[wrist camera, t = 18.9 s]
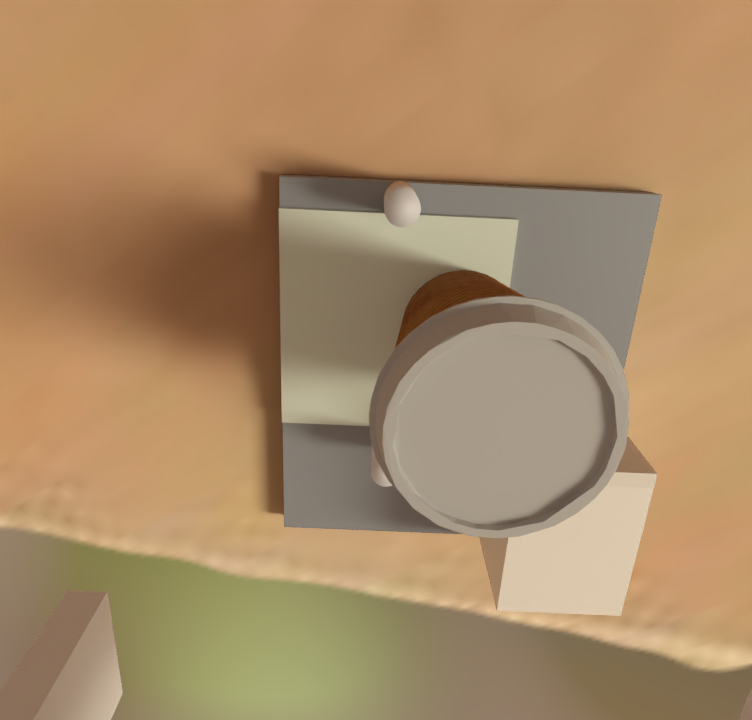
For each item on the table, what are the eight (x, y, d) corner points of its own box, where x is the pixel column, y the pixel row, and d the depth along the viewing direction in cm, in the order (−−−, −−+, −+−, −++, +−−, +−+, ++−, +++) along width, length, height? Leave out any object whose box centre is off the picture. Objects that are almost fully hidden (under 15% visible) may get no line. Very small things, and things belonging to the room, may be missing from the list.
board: (282, 173, 30) (264, 183, 26) (651, 191, 31) (702, 204, 26) (286, 515, 38) (273, 571, 33) (580, 527, 38) (609, 585, 34)
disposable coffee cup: (393, 422, 34) (400, 569, 23) (352, 261, 31) (338, 342, 19) (559, 387, 33) (651, 523, 22) (537, 218, 30) (633, 277, 19)
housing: (496, 410, 34) (519, 467, 28) (611, 416, 34) (657, 473, 28) (479, 537, 37) (496, 610, 32) (584, 541, 37) (620, 615, 32)
